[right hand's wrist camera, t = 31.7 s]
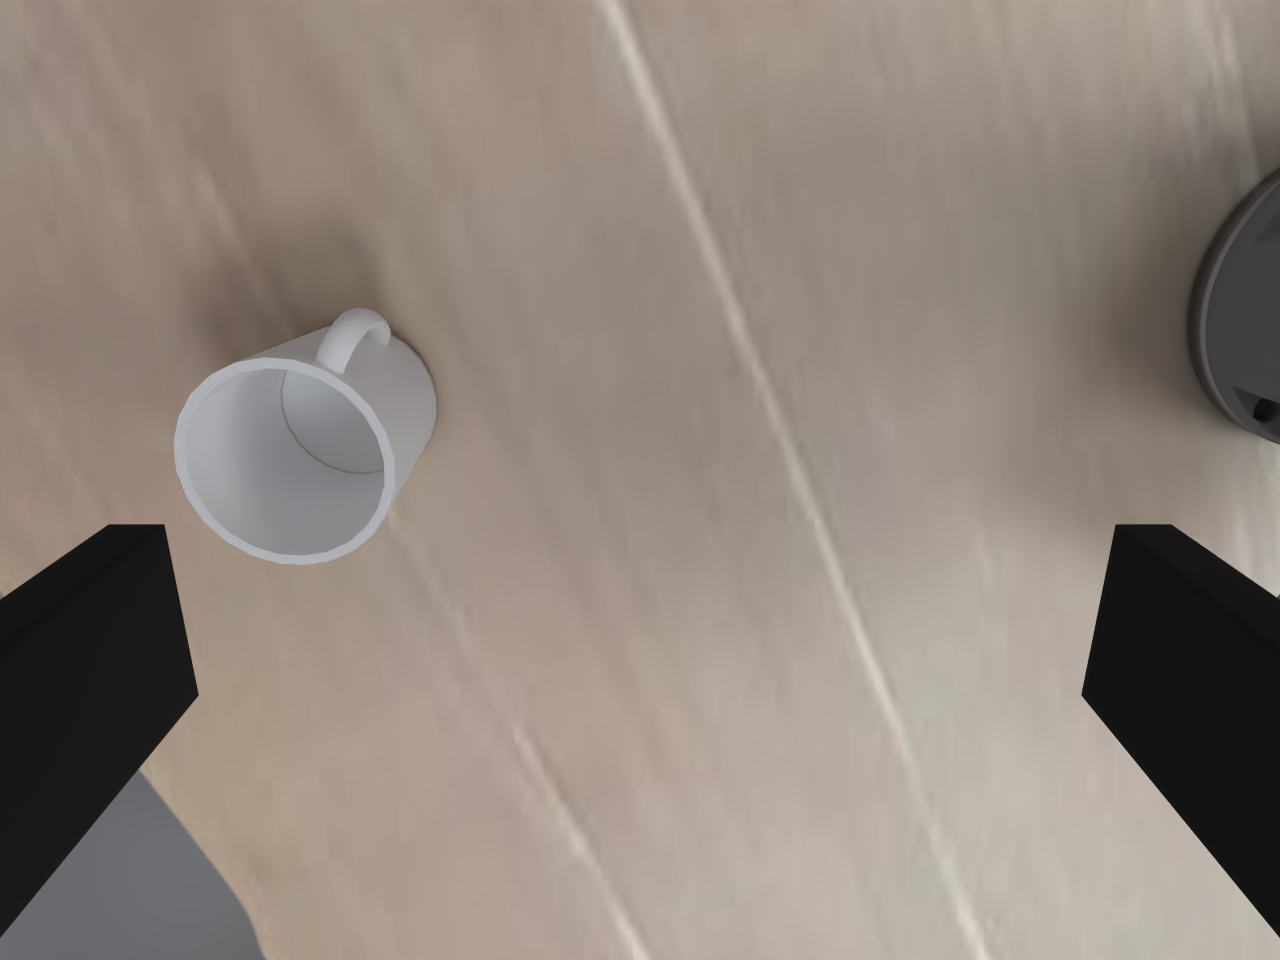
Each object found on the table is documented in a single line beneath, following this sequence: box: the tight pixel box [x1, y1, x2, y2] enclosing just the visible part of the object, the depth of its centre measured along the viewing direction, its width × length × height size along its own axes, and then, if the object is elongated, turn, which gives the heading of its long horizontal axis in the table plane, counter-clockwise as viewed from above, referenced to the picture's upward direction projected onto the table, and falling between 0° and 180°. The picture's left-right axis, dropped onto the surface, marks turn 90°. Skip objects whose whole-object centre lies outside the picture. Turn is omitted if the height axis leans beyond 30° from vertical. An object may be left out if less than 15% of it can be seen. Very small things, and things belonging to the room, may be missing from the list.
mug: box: [174, 307, 437, 565], centre depth 40 cm, size 11×9×10 cm
